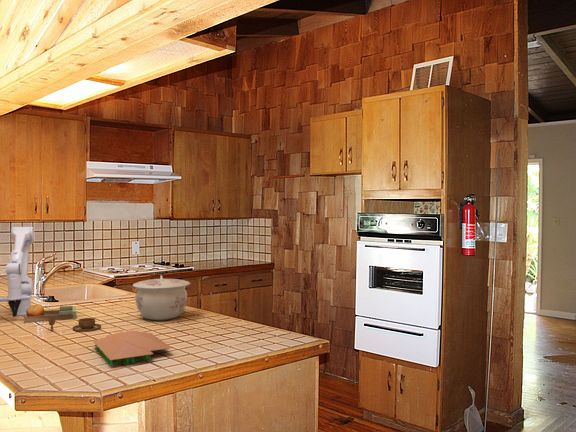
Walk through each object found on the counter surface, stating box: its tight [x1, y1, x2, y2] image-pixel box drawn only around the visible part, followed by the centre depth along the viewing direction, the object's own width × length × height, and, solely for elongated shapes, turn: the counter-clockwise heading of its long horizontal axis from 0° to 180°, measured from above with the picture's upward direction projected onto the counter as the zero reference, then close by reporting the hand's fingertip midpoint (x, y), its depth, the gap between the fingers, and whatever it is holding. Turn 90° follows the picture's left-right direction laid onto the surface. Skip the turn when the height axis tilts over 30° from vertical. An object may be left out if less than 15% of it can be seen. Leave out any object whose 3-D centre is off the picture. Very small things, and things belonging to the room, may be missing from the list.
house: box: [92, 330, 173, 368], centre depth 205 cm, size 23×33×8 cm
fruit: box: [26, 303, 46, 317], centre depth 265 cm, size 8×8×8 cm
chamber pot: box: [132, 275, 191, 322], centre depth 267 cm, size 28×28×21 cm
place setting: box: [48, 317, 102, 334], centre depth 244 cm, size 18×20×6 cm
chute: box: [23, 305, 77, 324], centre depth 267 cm, size 14×23×4 cm, turn 112°
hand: (14, 316), depth 261 cm, fingers closed
